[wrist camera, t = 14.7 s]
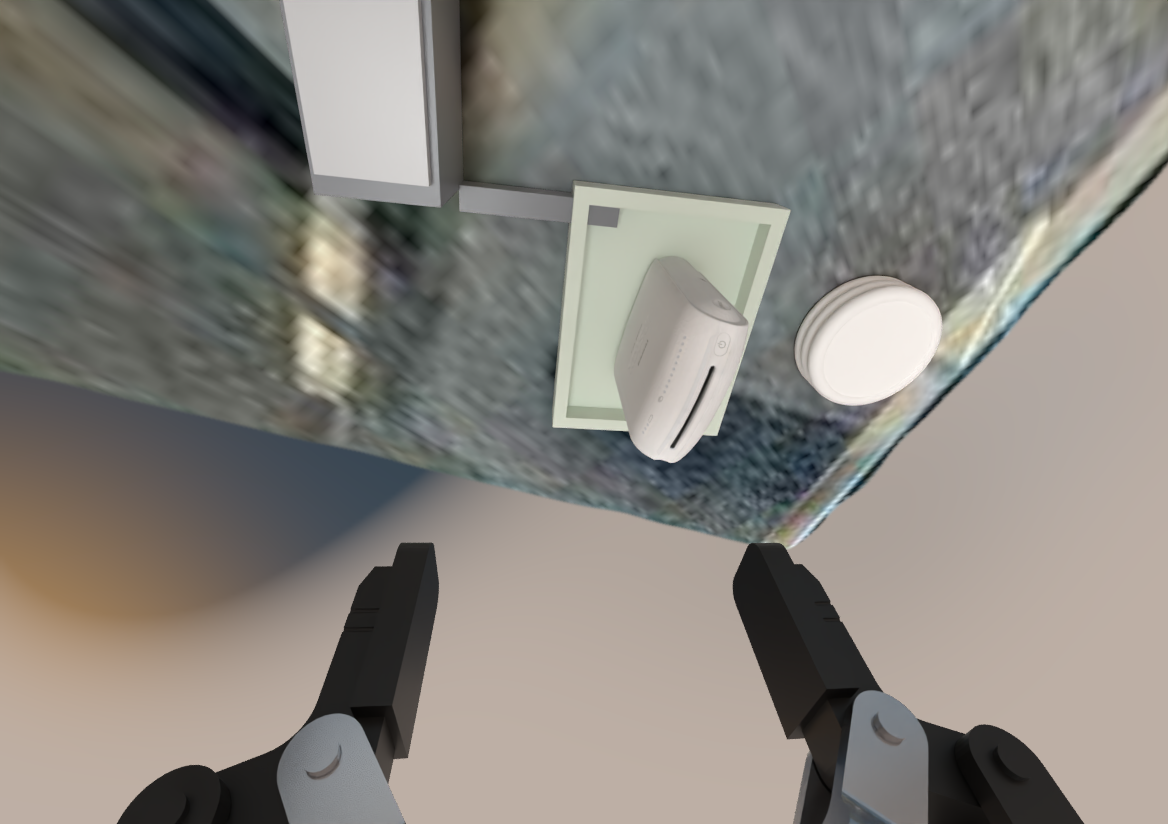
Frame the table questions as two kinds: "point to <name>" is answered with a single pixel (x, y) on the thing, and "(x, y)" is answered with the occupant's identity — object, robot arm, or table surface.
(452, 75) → the dock
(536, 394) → the table surface
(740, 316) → the photo printer
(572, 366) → the tray
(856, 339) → the white round puck
